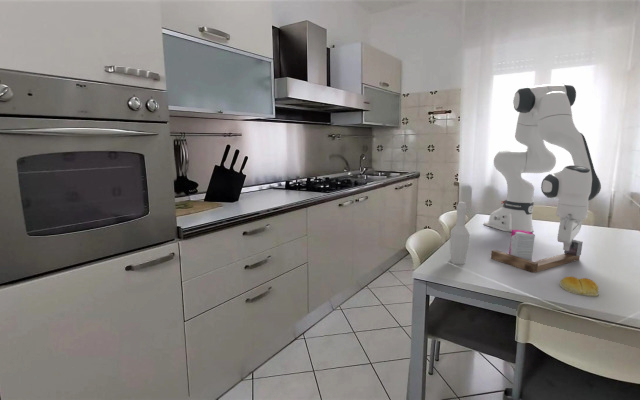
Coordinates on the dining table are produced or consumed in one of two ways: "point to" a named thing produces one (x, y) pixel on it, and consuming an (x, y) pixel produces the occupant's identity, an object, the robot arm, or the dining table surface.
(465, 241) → the faceted bottle
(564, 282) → the bread roll
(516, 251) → the supplement box
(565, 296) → the dining table surface
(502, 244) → the dining table surface
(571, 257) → the l-shaped wooden bracket
